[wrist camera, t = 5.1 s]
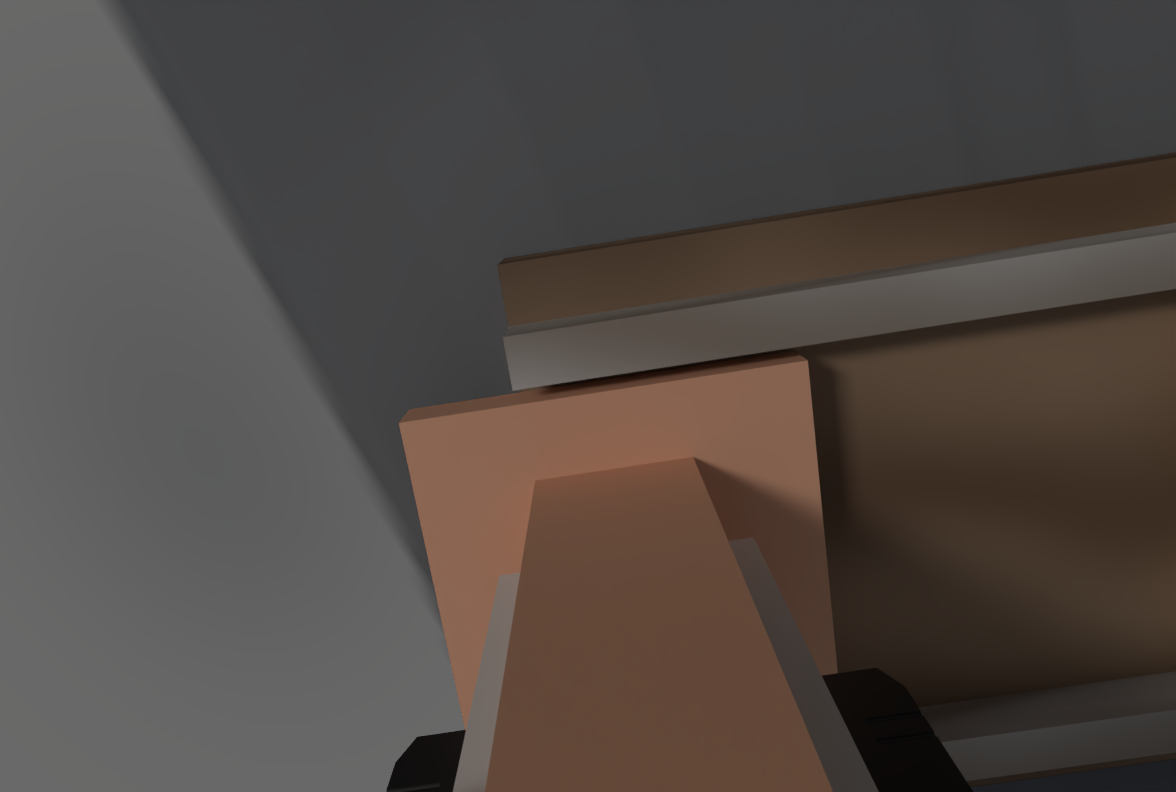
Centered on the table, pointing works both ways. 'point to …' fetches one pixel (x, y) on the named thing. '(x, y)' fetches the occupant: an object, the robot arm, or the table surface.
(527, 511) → the stub
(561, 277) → the board
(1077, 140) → the table surface
